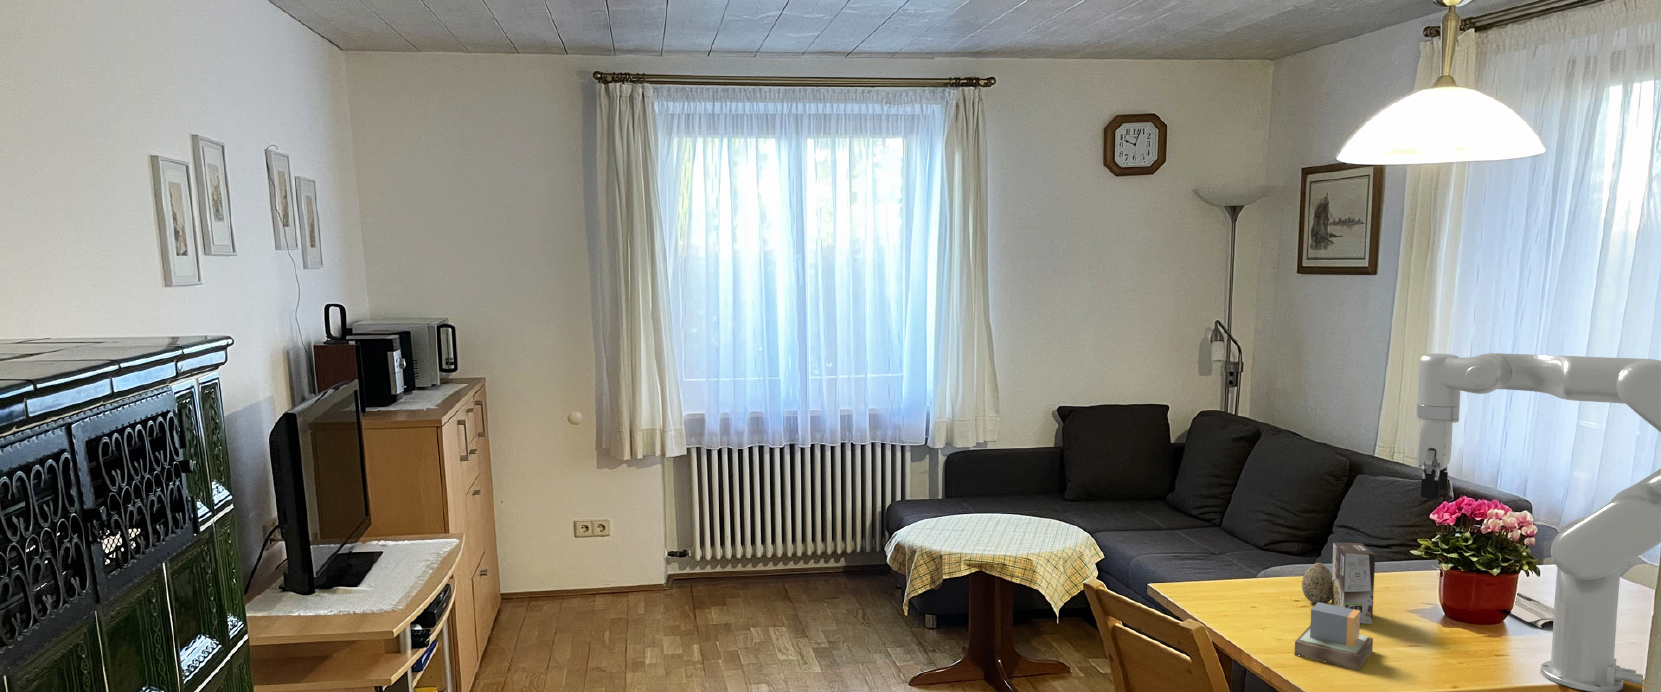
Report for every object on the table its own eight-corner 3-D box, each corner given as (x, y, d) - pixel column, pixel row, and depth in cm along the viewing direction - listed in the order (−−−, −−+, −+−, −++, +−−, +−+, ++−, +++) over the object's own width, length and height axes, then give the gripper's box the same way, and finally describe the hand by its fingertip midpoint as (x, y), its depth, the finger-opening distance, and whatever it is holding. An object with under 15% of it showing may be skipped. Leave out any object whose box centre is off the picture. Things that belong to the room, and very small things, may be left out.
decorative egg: (1339, 603, 230) (1340, 562, 229) (1329, 611, 225) (1330, 569, 224) (1307, 596, 235) (1308, 556, 234) (1296, 604, 230) (1298, 563, 229)
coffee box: (1373, 624, 216) (1376, 554, 215) (1342, 622, 218) (1345, 552, 216) (1360, 610, 225) (1362, 542, 224) (1330, 608, 227) (1332, 541, 225)
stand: (1372, 651, 202) (1373, 636, 202) (1359, 670, 193) (1359, 654, 193) (1310, 637, 210) (1310, 622, 209) (1294, 654, 201) (1295, 639, 200)
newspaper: (1585, 630, 213) (1586, 614, 213) (1530, 631, 213) (1531, 616, 213) (1471, 577, 249) (1472, 564, 248) (1424, 578, 248) (1425, 565, 248)
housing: (1317, 629, 206) (1318, 602, 205) (1359, 638, 201) (1360, 610, 200) (1310, 637, 201) (1311, 609, 201) (1352, 646, 196) (1353, 618, 196)
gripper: (1424, 406, 210) (1420, 483, 212) (1409, 416, 197) (1405, 499, 199) (1465, 409, 206) (1461, 488, 207) (1452, 420, 193) (1448, 505, 194)
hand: (1434, 493), depth 203 cm, fingers open, 9 cm apart
